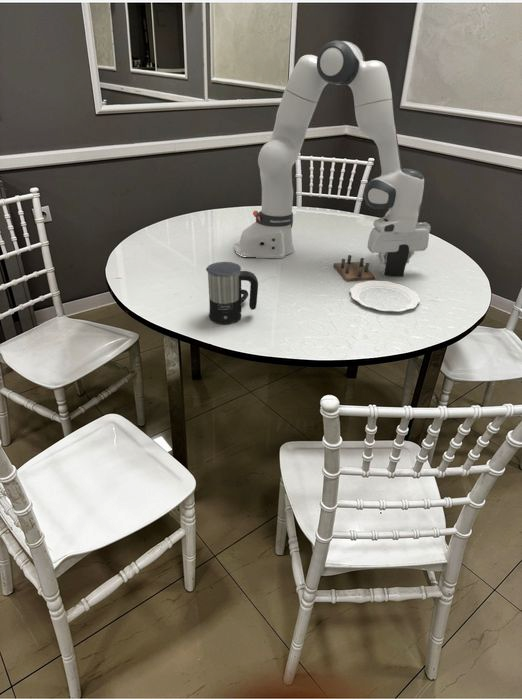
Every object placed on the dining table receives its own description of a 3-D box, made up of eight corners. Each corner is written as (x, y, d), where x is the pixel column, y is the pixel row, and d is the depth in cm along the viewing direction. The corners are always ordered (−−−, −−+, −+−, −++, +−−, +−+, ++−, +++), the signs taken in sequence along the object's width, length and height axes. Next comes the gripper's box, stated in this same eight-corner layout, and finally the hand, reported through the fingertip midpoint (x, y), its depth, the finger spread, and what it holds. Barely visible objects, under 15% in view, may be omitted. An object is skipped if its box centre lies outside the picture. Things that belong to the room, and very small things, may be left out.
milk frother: (214, 327, 128) (212, 277, 120) (197, 302, 140) (195, 255, 132) (262, 318, 133) (263, 269, 125) (242, 295, 145) (242, 249, 137)
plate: (406, 322, 134) (407, 317, 133) (338, 303, 143) (339, 298, 142) (426, 296, 149) (427, 291, 148) (364, 279, 158) (365, 275, 157)
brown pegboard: (346, 281, 155) (348, 269, 153) (333, 266, 166) (334, 254, 164) (374, 279, 157) (376, 268, 155) (360, 264, 168) (362, 253, 165)
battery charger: (401, 272, 163) (408, 240, 157) (404, 277, 160) (410, 244, 153) (381, 271, 163) (387, 239, 157) (383, 276, 160) (389, 243, 154)
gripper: (427, 219, 156) (418, 258, 164) (369, 220, 152) (362, 261, 160) (436, 225, 151) (426, 265, 158) (377, 227, 147) (370, 268, 155)
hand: (394, 263), depth 159 cm, fingers open, 7 cm apart
